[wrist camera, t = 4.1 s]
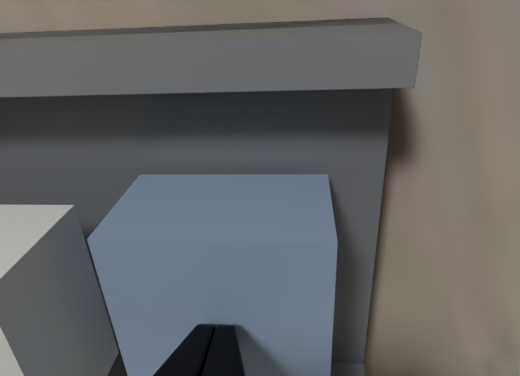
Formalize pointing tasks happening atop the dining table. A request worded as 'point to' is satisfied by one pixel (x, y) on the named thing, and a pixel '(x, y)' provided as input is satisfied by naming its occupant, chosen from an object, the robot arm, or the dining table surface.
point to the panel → (211, 124)
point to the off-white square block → (50, 296)
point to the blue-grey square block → (222, 268)
